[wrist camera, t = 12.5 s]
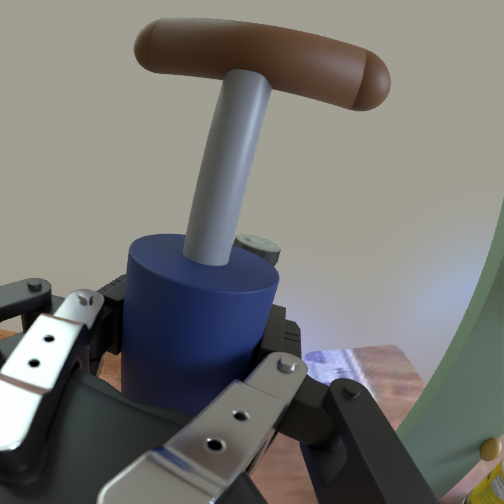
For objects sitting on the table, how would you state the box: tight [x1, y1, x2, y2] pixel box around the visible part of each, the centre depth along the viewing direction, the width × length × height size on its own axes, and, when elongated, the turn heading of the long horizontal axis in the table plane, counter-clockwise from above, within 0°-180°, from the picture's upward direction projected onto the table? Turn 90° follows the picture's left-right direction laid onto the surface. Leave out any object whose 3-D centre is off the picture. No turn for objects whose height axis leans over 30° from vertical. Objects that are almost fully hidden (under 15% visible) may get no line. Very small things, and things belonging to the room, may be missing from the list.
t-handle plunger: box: [121, 18, 391, 417], centre depth 10 cm, size 8×5×22 cm, turn 83°
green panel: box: [395, 199, 504, 500], centre depth 14 cm, size 11×12×30 cm
